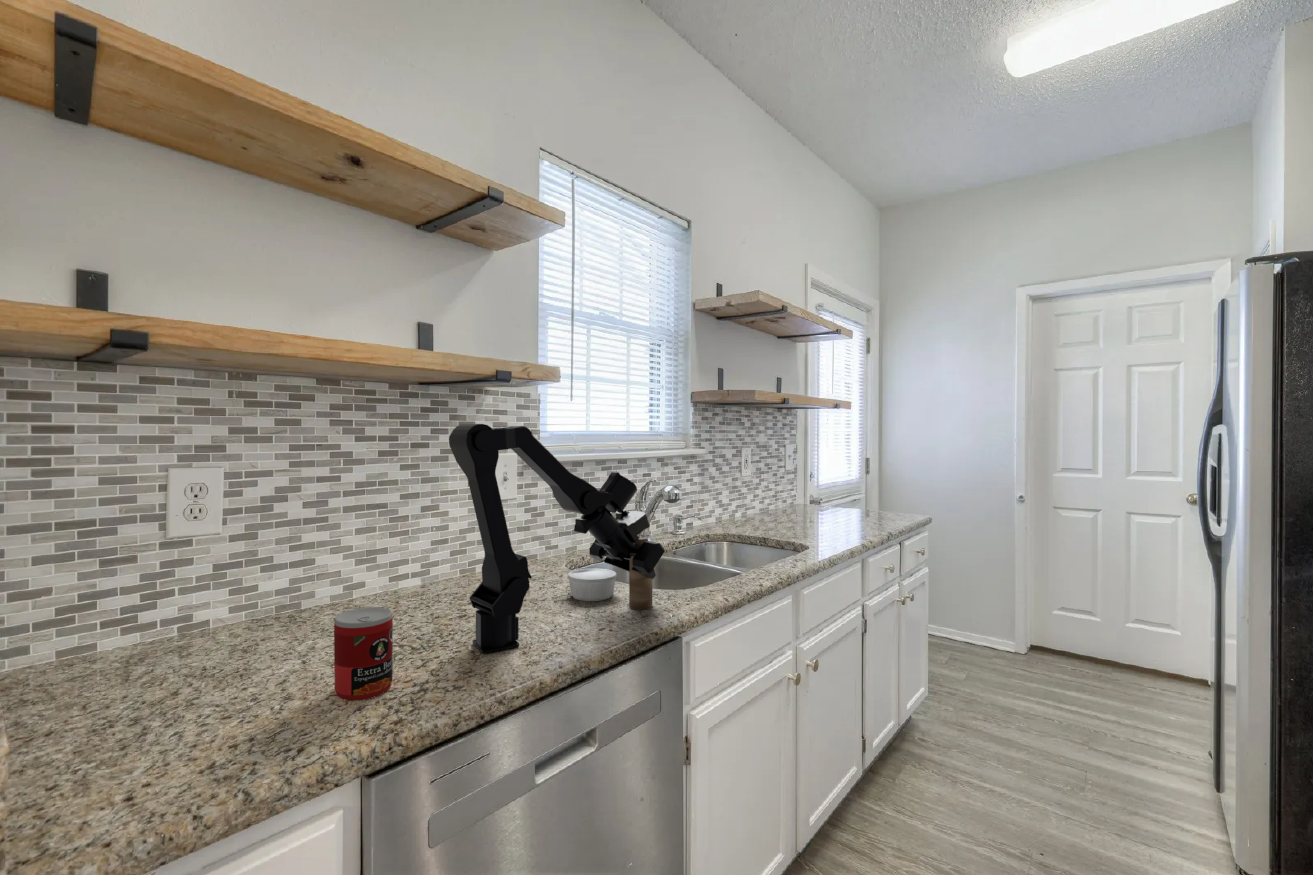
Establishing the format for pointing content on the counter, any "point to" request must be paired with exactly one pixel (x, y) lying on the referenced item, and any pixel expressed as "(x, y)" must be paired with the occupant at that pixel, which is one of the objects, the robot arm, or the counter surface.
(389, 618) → the canned food
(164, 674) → the counter surface
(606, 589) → the ramekin
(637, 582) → the pepper mill
